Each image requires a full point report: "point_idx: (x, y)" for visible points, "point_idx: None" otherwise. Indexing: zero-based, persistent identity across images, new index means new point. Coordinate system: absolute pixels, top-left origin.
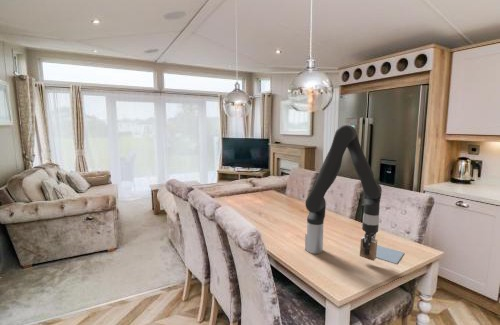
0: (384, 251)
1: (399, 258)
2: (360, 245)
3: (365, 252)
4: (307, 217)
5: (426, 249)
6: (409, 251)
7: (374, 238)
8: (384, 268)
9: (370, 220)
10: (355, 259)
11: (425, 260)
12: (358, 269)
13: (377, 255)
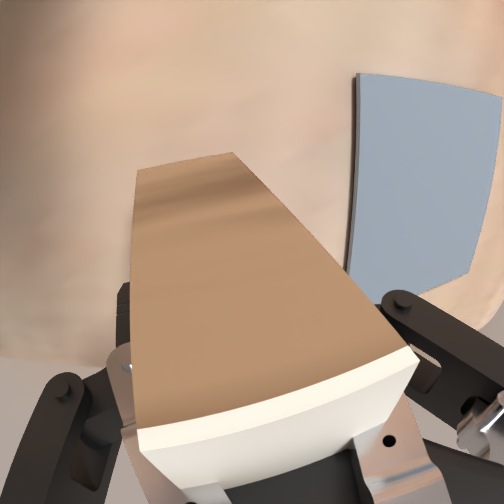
0: (453, 202)
1: None
2: (131, 257)
3: (121, 310)
4: None
5: (501, 293)
6: (483, 270)
7: (427, 399)
8: None
9: None
10: (193, 76)
11: None
12: (39, 211)
13: (387, 195)
